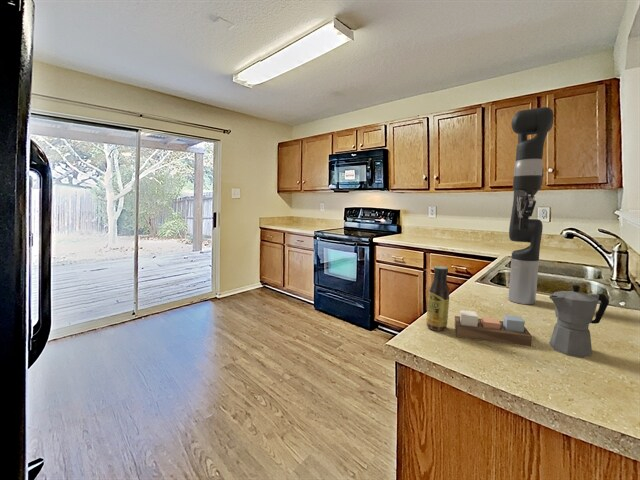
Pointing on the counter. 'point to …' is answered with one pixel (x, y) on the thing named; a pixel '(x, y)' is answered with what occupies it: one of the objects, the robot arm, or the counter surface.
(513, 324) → the slate button
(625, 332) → the counter surface
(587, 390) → the counter surface
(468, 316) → the cream button
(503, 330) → the brown button board
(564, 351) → the coffeepot
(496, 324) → the terracotta button
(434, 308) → the sauce bottle
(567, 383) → the counter surface
